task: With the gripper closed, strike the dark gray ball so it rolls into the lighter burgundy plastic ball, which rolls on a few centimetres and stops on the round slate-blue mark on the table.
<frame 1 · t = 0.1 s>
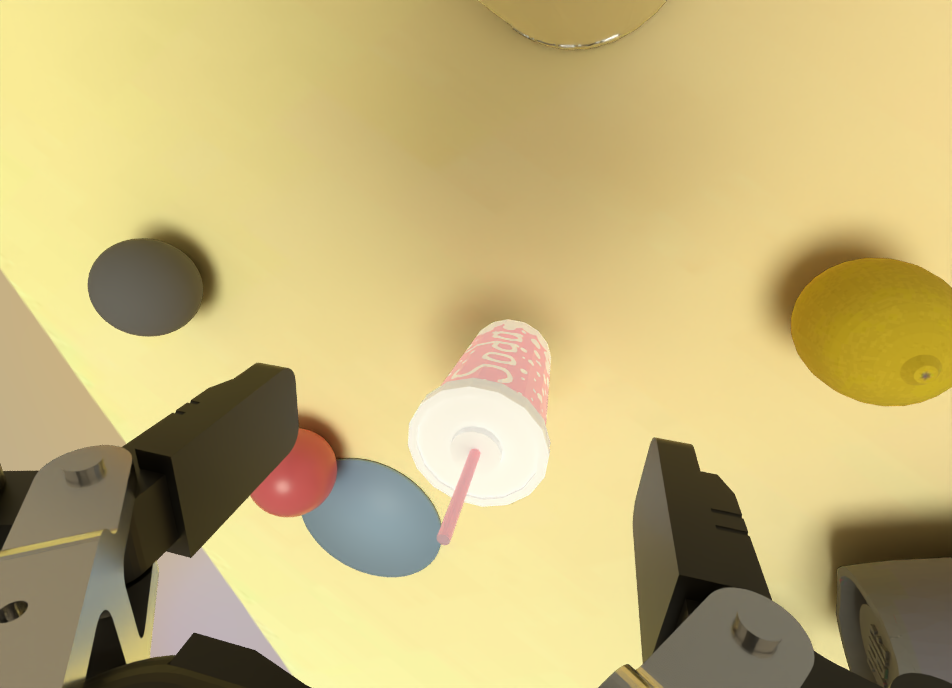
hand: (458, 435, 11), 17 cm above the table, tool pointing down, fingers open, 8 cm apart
dark gray ball: (148, 287, 30), on the table
lemon: (833, 294, 25), on the table
object ball: (292, 471, 34), on the table
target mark: (369, 519, 38), on the table
beverage cup: (511, 354, 30), on the table
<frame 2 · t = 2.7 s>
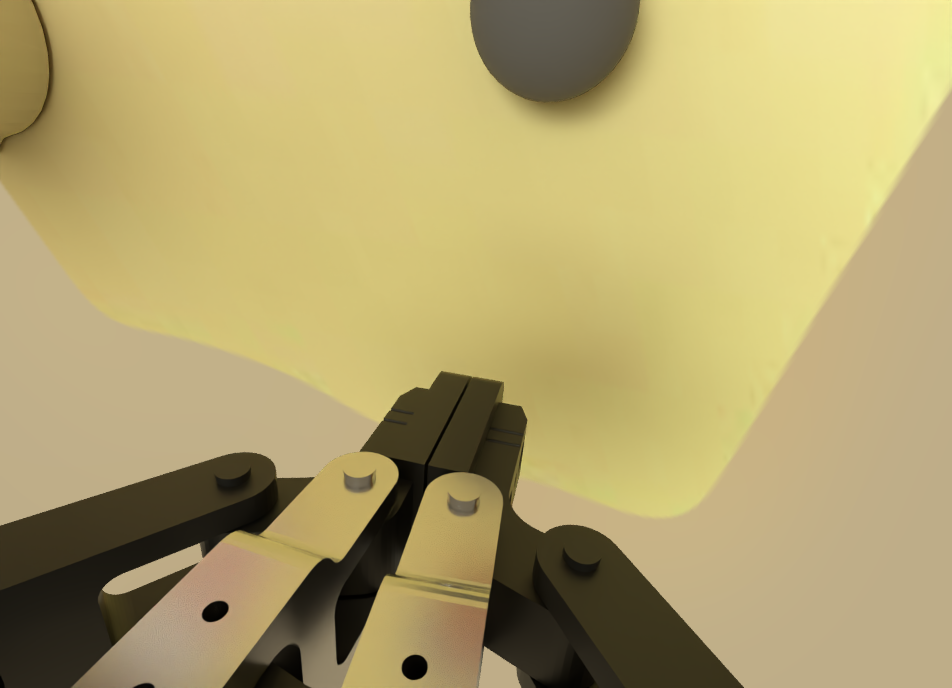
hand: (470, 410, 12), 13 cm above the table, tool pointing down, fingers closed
dark gray ball: (553, 10, 17), on the table
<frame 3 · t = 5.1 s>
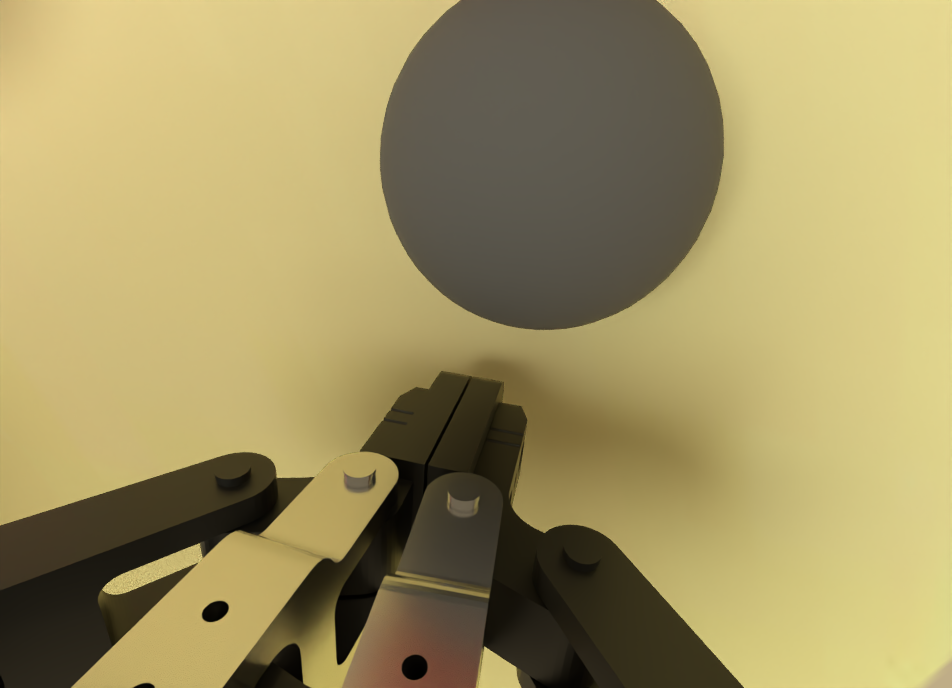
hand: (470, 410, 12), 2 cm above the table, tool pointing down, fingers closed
dark gray ball: (544, 168, 9), on the table
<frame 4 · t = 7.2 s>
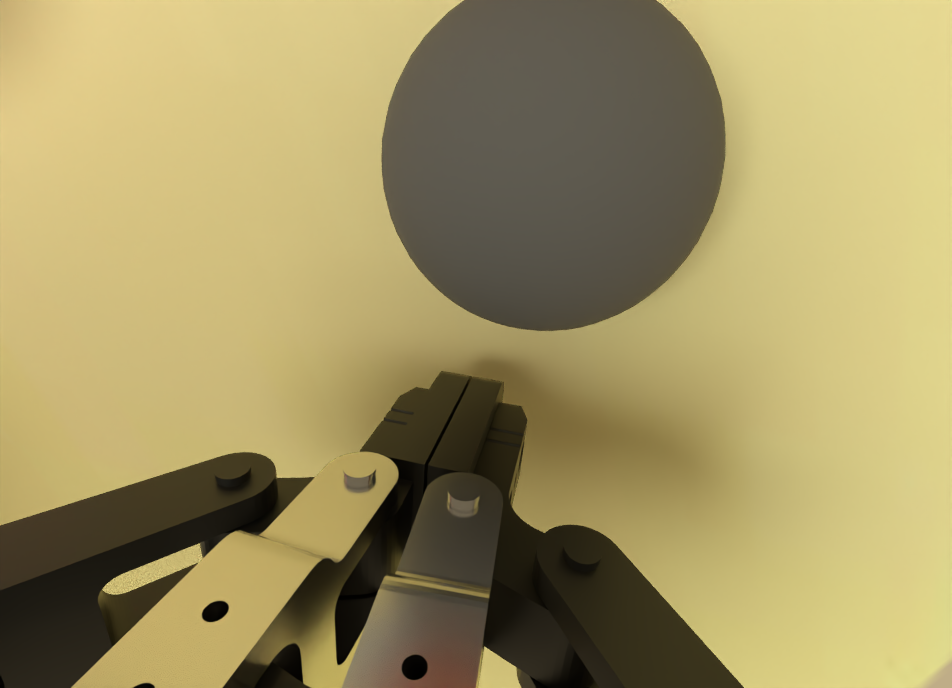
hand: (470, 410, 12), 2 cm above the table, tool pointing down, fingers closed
dark gray ball: (546, 169, 9), on the table
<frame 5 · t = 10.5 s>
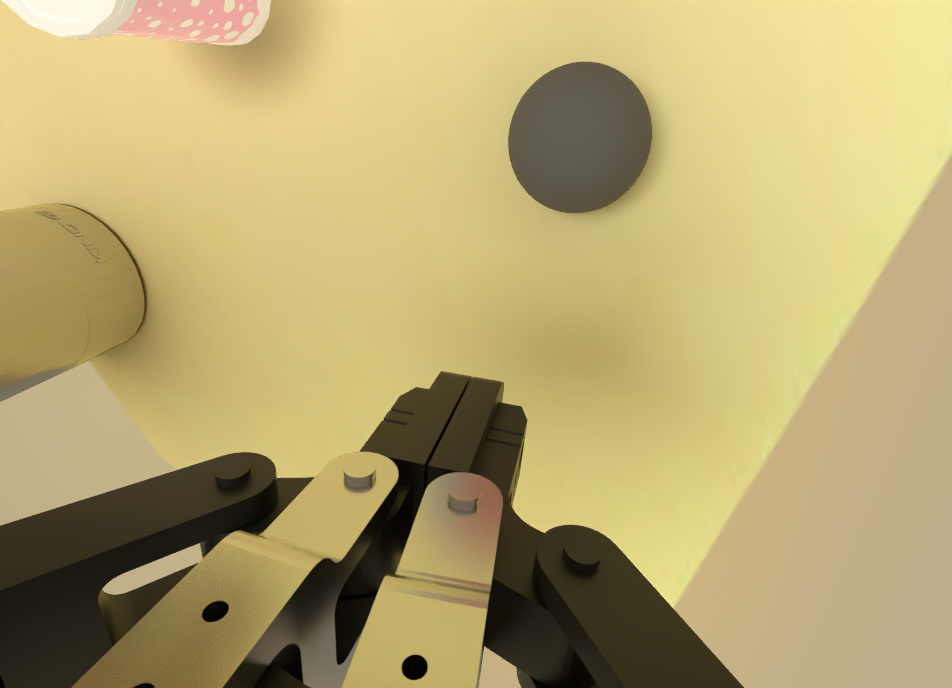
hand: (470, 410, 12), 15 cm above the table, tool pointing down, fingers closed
dark gray ball: (578, 141, 21), on the table
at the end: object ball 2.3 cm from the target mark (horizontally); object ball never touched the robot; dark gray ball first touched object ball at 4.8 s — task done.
